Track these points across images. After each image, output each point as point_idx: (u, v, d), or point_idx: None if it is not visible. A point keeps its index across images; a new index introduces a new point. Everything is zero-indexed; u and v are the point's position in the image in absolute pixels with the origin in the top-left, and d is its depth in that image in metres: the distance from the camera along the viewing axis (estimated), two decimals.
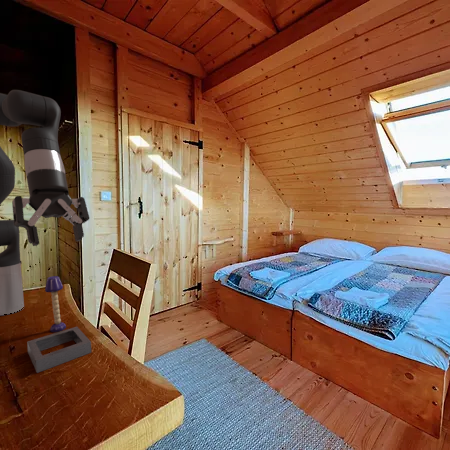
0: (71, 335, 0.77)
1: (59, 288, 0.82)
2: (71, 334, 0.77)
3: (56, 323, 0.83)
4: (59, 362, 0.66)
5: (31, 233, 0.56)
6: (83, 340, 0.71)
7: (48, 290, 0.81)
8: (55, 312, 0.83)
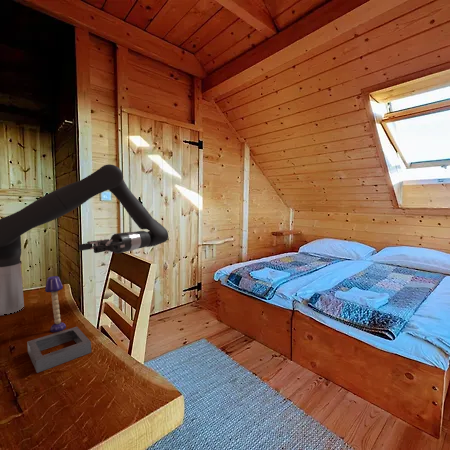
0: (71, 335, 0.77)
1: (59, 288, 0.82)
2: (71, 334, 0.77)
3: (56, 323, 0.83)
4: (59, 362, 0.66)
5: (101, 250, 0.91)
6: (83, 340, 0.71)
7: (48, 290, 0.81)
8: (55, 312, 0.83)
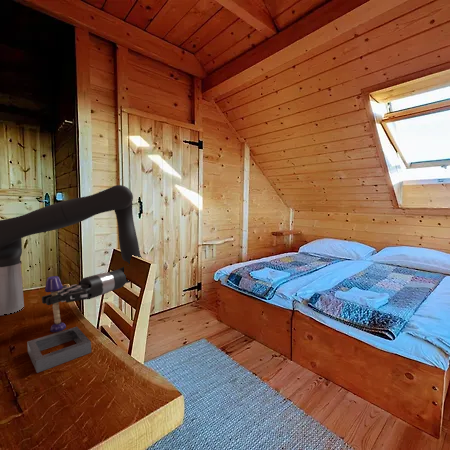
0: (71, 335, 0.77)
1: (59, 288, 0.82)
2: (71, 334, 0.77)
3: (56, 323, 0.83)
4: (59, 362, 0.66)
5: None
6: (83, 340, 0.71)
7: (48, 290, 0.81)
8: (55, 312, 0.83)
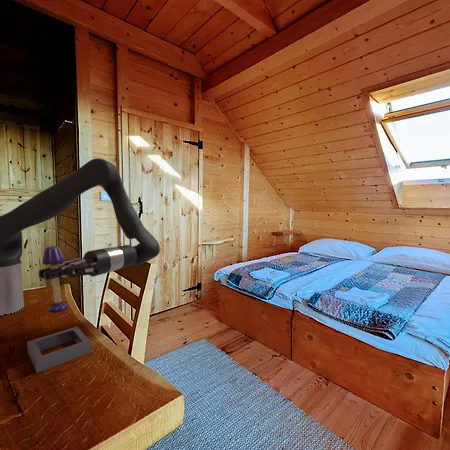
0: (71, 335, 0.77)
1: (59, 260, 0.68)
2: (71, 334, 0.77)
3: (56, 302, 0.69)
4: (59, 362, 0.66)
5: (56, 276, 0.68)
6: (83, 340, 0.71)
7: (46, 262, 0.67)
8: (54, 289, 0.69)
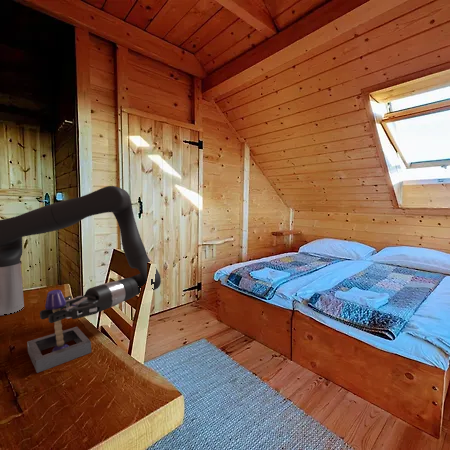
0: (71, 335, 0.77)
1: (62, 304, 0.69)
2: (71, 334, 0.77)
3: (58, 345, 0.70)
4: (59, 362, 0.66)
5: None
6: (83, 340, 0.71)
7: (49, 307, 0.68)
8: (57, 333, 0.70)
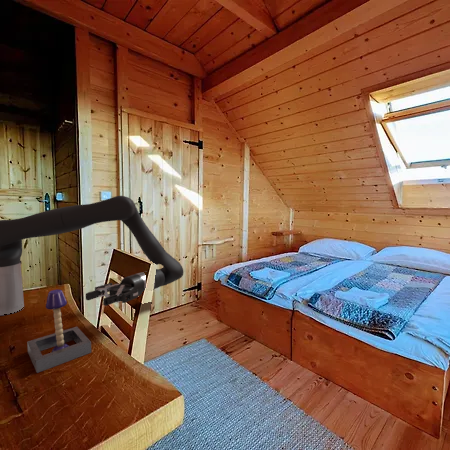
0: (71, 335, 0.77)
1: (62, 304, 0.69)
2: (71, 334, 0.77)
3: (59, 345, 0.70)
4: (59, 362, 0.66)
5: None
6: (83, 340, 0.71)
7: (49, 307, 0.68)
8: (57, 332, 0.70)
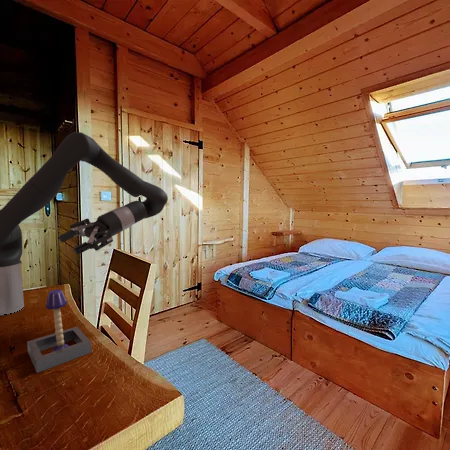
0: (71, 335, 0.77)
1: (62, 304, 0.69)
2: (71, 334, 0.77)
3: (59, 345, 0.70)
4: (59, 362, 0.66)
5: None
6: (83, 340, 0.71)
7: (49, 307, 0.68)
8: (57, 332, 0.70)
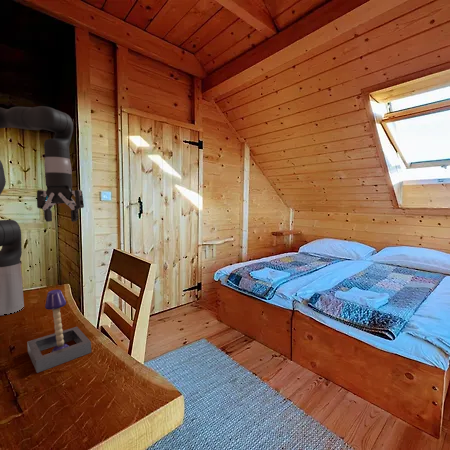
0: (71, 335, 0.77)
1: (62, 304, 0.69)
2: (71, 334, 0.77)
3: (58, 345, 0.70)
4: (59, 362, 0.66)
5: None
6: (83, 340, 0.71)
7: (49, 307, 0.68)
8: (57, 332, 0.70)
